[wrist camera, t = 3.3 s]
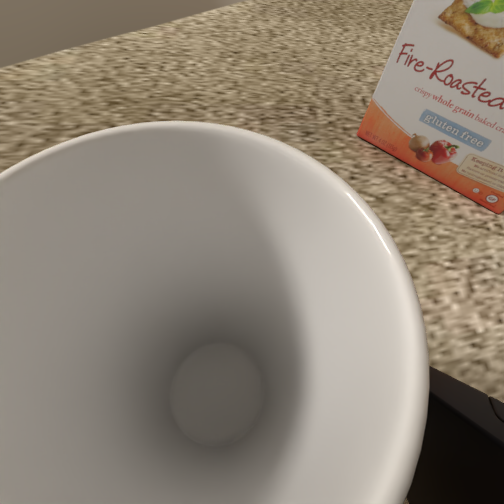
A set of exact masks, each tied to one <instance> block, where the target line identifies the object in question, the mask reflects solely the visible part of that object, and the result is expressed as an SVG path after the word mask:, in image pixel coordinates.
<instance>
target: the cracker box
mask: <svg viewBox="0 0 504 504" xmlns="http://www.w3.org/2000/svg"><path fill="white" fill-rule="evenodd" d="M357 136H358V137H360V138H362V139H364V140H366V141H368V142H370V143H371V144H373V145H375V146H377V147H379V148H380V149H382V150H384V151H386V152H388V153H389V154H391V155H393V156H395V157H396V158H398V159H400V160H402V161H404V162H405V163H407V164H409V165H411V166H412V167H414V168H416V169H418V170H420V171H422V172H423V173H425V174H427V175H429V176H430V177H432V178H434V179H436V180H438V181H439V182H441V183H443V184H445V185H447V186H448V187H450V188H452V189H454V190H455V191H457V192H459V193H461V194H463V195H464V196H466V197H468V198H470V199H471V200H473V201H475V202H477V203H479V204H480V205H482V206H484V207H486V208H487V209H489V210H491V211H493V212H494V213H497V214H500V213H502V212H503V211H504V0H414V1H413V3H412V6H411V8H410V10H409V13H408V15H407V17H406V20H405V22H404V24H403V26H402V29H401V31H400V33H399V36H398V38H397V40H396V43H395V45H394V47H393V50H392V52H391V54H390V57H389V59H388V61H387V64H386V66H385V68H384V71H383V73H382V75H381V78H380V80H379V83H378V85H377V87H376V90H375V92H374V94H373V97H372V99H371V102H370V104H369V106H368V109H367V111H366V113H365V116H364V118H363V121H362V123H361V125H360V128H359V130H358V132H357Z"/></svg>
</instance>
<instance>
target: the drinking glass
mask: <svg viewBox="0 0 504 504" xmlns="http://www.w3.org/2000/svg"><path fill="white" fill-rule="evenodd" d="M429 388H430V379H429V352H428V343H427V334H426V328H425V323H424V318H423V314H422V309H421V304H420V301H419V298H418V295H417V292H416V288H415V285H414V282H413V279H412V277H411V275H410V272H409V270H408V267H407V265H406V263H405V260H404V258H403V256H402V255H401V253H400V251H399V249H398V247H397V245H396V243H395V241H394V240H393V238H392V237H391V235H390V233H389V232H388V230H387V229H386V227H385V226H384V224H383V223H382V221H381V220H380V219H379V217H378V216H377V215H376V214H375V212H374V211H373V210H372V208H371V207H370V206H369V205H368V204H367V203H366V202H365V201H364V199H363V198H362V197H361V196H360V195H359V194H358V193H357V192H356V191H355V190H354V189H353V188H352V187H351V186H350V185H348V184H347V183H346V182H345V181H344V180H343V179H342V178H340V177H339V176H338V175H337V174H335V173H334V172H333V171H332V170H330V169H329V168H328V167H326V166H325V165H323V164H322V163H320V162H319V161H317V160H316V159H314V158H312V157H311V156H309V155H307V154H305V153H304V152H302V151H300V150H298V149H296V148H294V147H292V146H290V145H288V144H286V143H283V142H281V141H279V140H276V139H273V138H271V137H268V136H266V135H262V134H259V133H256V132H253V131H249V130H245V129H241V128H237V127H233V126H227V125H221V124H215V123H206V122H196V121H157V122H146V123H137V124H130V125H124V126H119V127H114V128H109V129H104V130H101V131H97V132H93V133H90V134H86V135H83V136H80V137H77V138H74V139H71V140H68V141H65V142H63V143H60V144H58V145H55V146H53V147H50V148H48V149H45V150H43V151H41V152H39V153H37V154H35V155H33V156H31V157H28V158H26V159H25V160H23V161H21V162H19V163H17V164H15V165H14V166H12V167H10V168H8V169H6V170H5V171H3V172H2V173H0V504H404V501H405V499H406V496H407V494H408V491H409V489H410V486H411V484H412V480H413V477H414V473H415V470H416V466H417V463H418V459H419V456H420V453H421V448H422V443H423V437H424V432H425V426H426V421H427V413H428V400H429Z"/></svg>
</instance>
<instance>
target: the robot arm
mask: <svg viewBox="0 0 504 504" xmlns="http://www.w3.org/2000/svg"><path fill="white" fill-rule="evenodd" d="M429 379H430V388H429V400H428V413H427V421H426V426H425V432H424V437H423V443H422V448H421V453H420V456H419V459H418V463H417V466H416V470H415V473H414V477H413V480H412V484H411V486H410V489H409V491H408V494H407V496H406V498H407V500H408V502H409V504H504V403H503V402H501V401H499V400H497V399H495V398H493V397H488V395H487V394H485V393H483V392H481V391H479V390H477V389H475V388H473V387H471V386H469V385H467V384H465V383H463V382H461V381H459V380H457V379H455V378H453V377H451V376H449V375H447V374H445V373H443V372H441V371H439V370H437V369H435V368H433V367H431V366H429Z"/></svg>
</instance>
